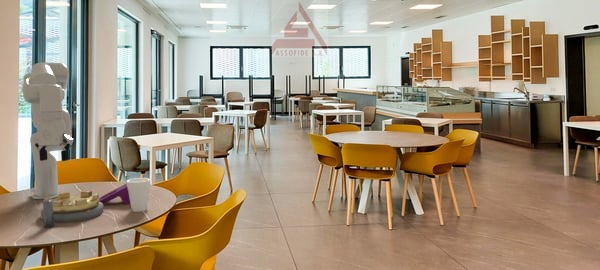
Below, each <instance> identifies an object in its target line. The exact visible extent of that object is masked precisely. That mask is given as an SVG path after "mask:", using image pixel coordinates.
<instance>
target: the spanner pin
mask: <svg viewBox="0 0 600 270" xmlns="http://www.w3.org/2000/svg"><path fill="white" fill-rule="evenodd" d="M42 209H43V212H44V221H43V226H44V229H51V228H54V227H55V223H54V216H53V200H45V201H44V200H42Z"/></svg>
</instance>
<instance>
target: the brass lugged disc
mask: <svg viewBox="0 0 600 270" xmlns="http://www.w3.org/2000/svg"><path fill="white" fill-rule="evenodd" d="M70 194H71V193H70V191H64V192H62V193H58V197H56V198H52V197H46V198H45V199H43V201H45V200H53V213H58V214H62V213H75V212H81V211H86V210H90V209H93V208H95V207H97V206H98V205H99V198H100V197H99V193H97V192H95V193H93V191H92V190H81V191H80V195H79V194H78V195H70Z"/></svg>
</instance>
